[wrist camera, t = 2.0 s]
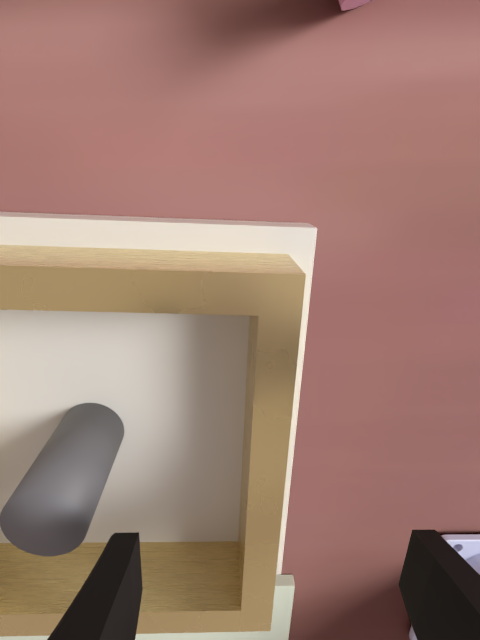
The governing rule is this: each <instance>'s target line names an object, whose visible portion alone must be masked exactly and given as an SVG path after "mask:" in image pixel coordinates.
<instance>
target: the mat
mask: <svg viewBox="0 0 480 640" xmlns="http://www.w3.org/2000/svg"><path fill="white" fill-rule="evenodd" d="M294 589H295V584H294V578H293V575H276V582H275V592H274V602H273V612H272V622H271V631H257V632H207V633H156V634H136V637H135V640H288V638H289V629H290V621H291V613H292V605H293V597H294ZM48 637H49V636H5V637H0V640H47V639H48Z"/></svg>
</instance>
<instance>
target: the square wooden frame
mask: <svg viewBox="0 0 480 640" xmlns="http://www.w3.org/2000/svg"><path fill="white" fill-rule="evenodd" d="M305 279H306V274H305V273H304V272H303V270H302V269H301V268H300V267H299V266H298V265H297V264H296V262H295V261H294V260H293V259H292V258H291V257H290V256H289V254H271V253H241V252H210V251H179V250H149V249H118V248H87V247H57V246H26V245H0V310H41V311H83V312H125V313H166V314H208V315H250V319H249V339H248V358H247V378H246V397H245V417H244V436H243V455H242V475H241V494H240V514H239V533H238V541H224V542H140V555H141V571H142V587H143V590H142V597H141V604H140V611H139V618H138V624H137V631H136V634H156V633H207V632H257V631H271V622H272V612H273V602H274V592H275V582H276V571H277V561H278V551H279V541H280V531H281V521H282V511H283V501H284V491H285V481H286V471H287V461H288V450H289V440H290V430H291V420H292V410H293V400H294V390H295V380H296V370H297V360H298V350H299V339H300V329H301V319H302V309H303V299H304V289H305ZM107 543H108V542H87V543H81V544H80V545H79V546H78V547H77V548H76V549H74V550H73V551H71V552H69V553H66V554H63V555H58V556H38V555H34V554H30V553H27V552H25V551H23V550H21V549H19V548H17V547H16V546H14V545H13V544H12V543H0V637H5V636H50V635H51V633H52V632H53V630H54V629H55V627H56V626H57V624H58V623H59V622H60V620H61V618H62V617H63V615H64V614H65V612H66V611H67V609H68V608H69V606H70V605H71V603H72V601H73V600H74V598H75V597H76V595H77V594H78V592H79V591H80V589H81V587H82V586H83V584H84V583H85V581H86V579H87V578H88V576H89V574H90V573H91V571H92V569H93V568H94V566H95V564H96V562H97V561H98V559H99V557H100V555H101V554H102V552H103V550H104V548H105V546H106V544H107Z"/></svg>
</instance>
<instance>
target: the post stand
mask: <svg viewBox="0 0 480 640" xmlns="http://www.w3.org/2000/svg"><path fill="white" fill-rule="evenodd" d="M316 235H317V228H316V227H314V226H312V225H311V224H309V223H291V222H264V221H237V220H210V219H183V218H156V217H129V216H102V215H75V214H48V213H21V212H0V245H26V246H57V247H87V248H118V249H149V250H179V251H210V252H241V253H271V254H289V256H290V257H291V258H292V259H293V260H294V261H295V262H296V264H297V265H298V266H299V267H300V268H301V269H302V270H303V272H304V273H305V274H306V279H305V289H304V299H303V309H302V319H301V329H300V339H299V350H298V360H297V370H296V380H295V390H294V400H293V410H292V420H291V430H290V440H289V450H288V461H287V471H286V481H285V491H284V501H283V511H282V521H281V531H280V541H279V551H278V561H277V571H276V575H281V569H282V559H283V550H284V540H285V531H286V521H287V511H288V502H289V492H290V483H291V473H292V464H293V454H294V445H295V435H296V426H297V416H298V406H299V397H300V387H301V378H302V368H303V359H304V349H305V340H306V330H307V321H308V311H309V301H310V292H311V282H312V273H313V263H314V254H315V244H316ZM249 319H250V315H208V314H166V313H125V312H83V311H41V310H0V543H12V544H13V545H14V546H16V547H17V548H19V549H21V550H23V551H25V552H27V553H30V554H34V555H38V556H58V555H63V554H66V553H69V552H71V551H73V550H74V549H76V548H77V547H78V546H79V545H80V544H81V543H87V542H108V541H109V539H110V537H111V536H112V535H113V534H114V533H138V532H139V539H140V542H224V541H238V533H239V514H240V494H241V475H242V455H243V436H244V417H245V397H246V378H247V358H248V339H249Z"/></svg>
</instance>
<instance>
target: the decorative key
mask: <svg viewBox="0 0 480 640" xmlns="http://www.w3.org/2000/svg"><path fill="white" fill-rule="evenodd" d="M370 1H372V0H339V4H340V7H341V10H342V11H344V10H350V9H354V8H357V7H359V6H362V5H364V4H366V3H368V2H370Z"/></svg>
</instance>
